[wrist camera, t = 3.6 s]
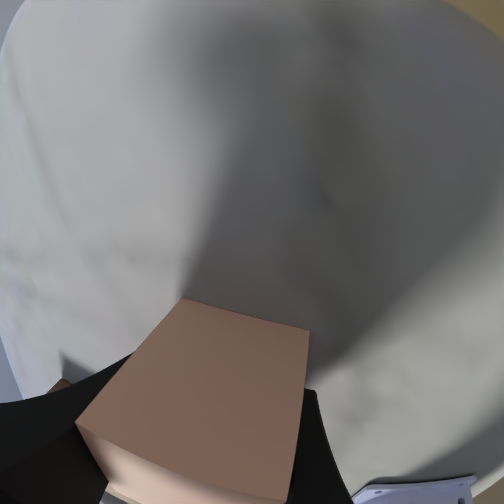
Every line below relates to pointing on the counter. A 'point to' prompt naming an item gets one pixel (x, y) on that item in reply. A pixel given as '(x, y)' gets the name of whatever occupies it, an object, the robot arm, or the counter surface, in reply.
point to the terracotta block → (202, 410)
